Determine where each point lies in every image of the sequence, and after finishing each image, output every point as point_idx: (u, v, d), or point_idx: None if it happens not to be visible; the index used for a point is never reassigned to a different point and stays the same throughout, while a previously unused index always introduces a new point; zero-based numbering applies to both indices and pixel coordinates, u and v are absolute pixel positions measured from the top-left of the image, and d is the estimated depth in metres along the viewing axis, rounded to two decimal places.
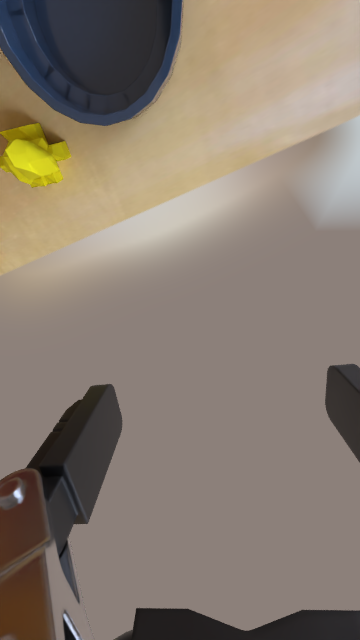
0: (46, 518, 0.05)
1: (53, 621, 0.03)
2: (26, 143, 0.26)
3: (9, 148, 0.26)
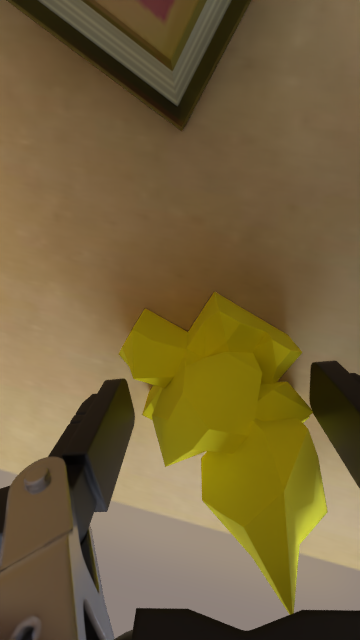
0: (70, 507, 0.05)
1: (75, 610, 0.03)
2: None
3: (292, 477, 0.05)
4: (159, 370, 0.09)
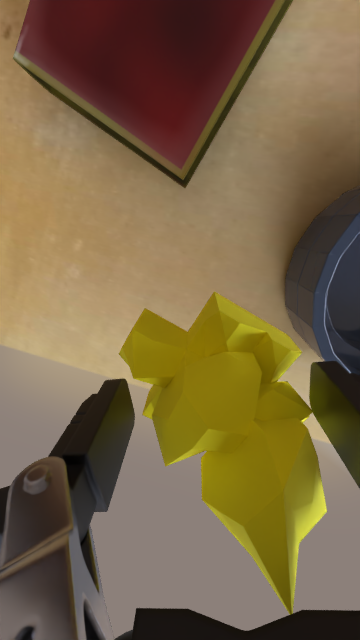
0: (70, 507, 0.05)
1: (75, 610, 0.03)
2: None
3: (291, 476, 0.05)
4: (159, 370, 0.09)
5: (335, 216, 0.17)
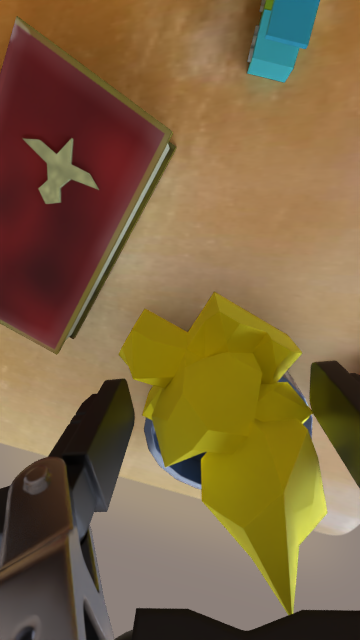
0: (70, 507, 0.05)
1: (75, 610, 0.03)
2: None
3: (291, 478, 0.05)
4: (159, 370, 0.09)
5: None
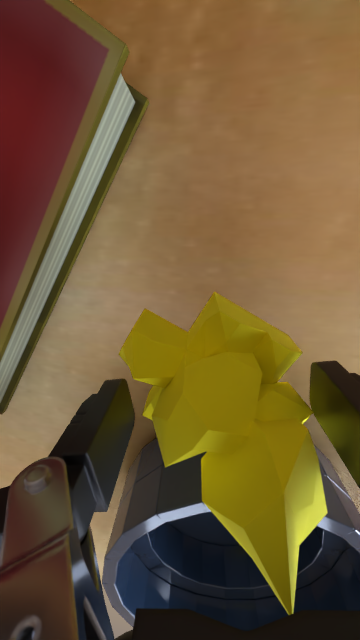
0: (70, 507, 0.05)
1: (74, 611, 0.03)
2: None
3: (291, 478, 0.05)
4: (159, 370, 0.09)
5: (133, 487, 0.15)
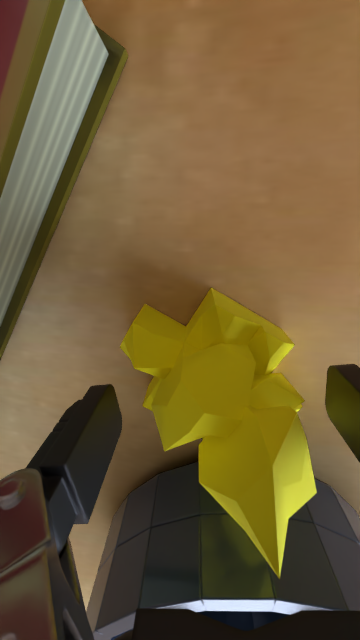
0: (46, 518, 0.05)
1: (55, 620, 0.03)
2: None
3: (280, 454, 0.06)
4: (158, 361, 0.09)
5: (114, 554, 0.12)
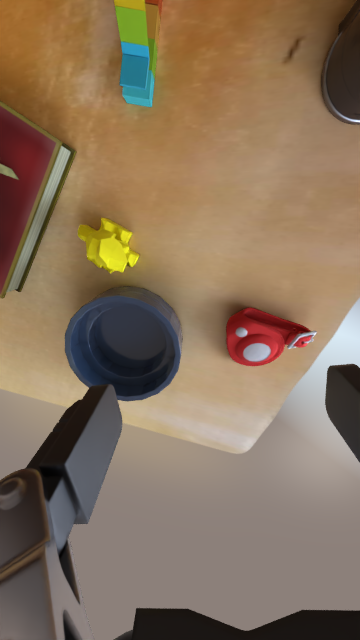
0: (46, 518, 0.05)
1: (53, 621, 0.03)
2: (118, 244, 0.30)
3: (104, 240, 0.29)
4: (87, 235, 0.32)
5: None
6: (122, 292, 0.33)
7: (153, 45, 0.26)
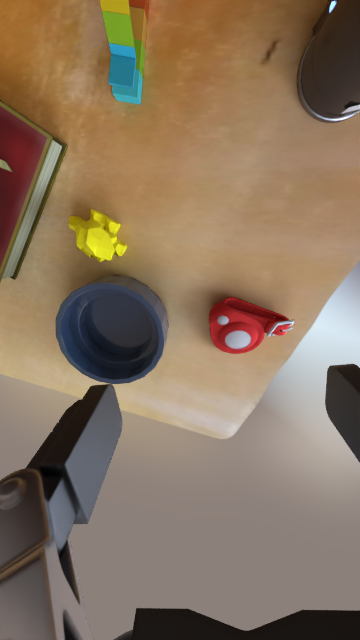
0: (46, 518, 0.05)
1: (54, 621, 0.03)
2: (105, 234, 0.32)
3: (92, 229, 0.31)
4: (77, 226, 0.34)
5: None
6: (109, 280, 0.35)
7: (140, 46, 0.28)
